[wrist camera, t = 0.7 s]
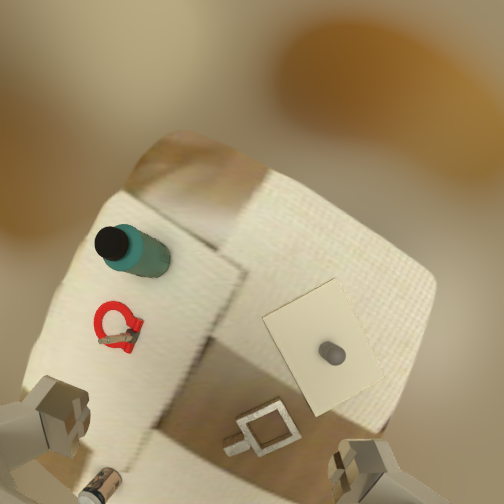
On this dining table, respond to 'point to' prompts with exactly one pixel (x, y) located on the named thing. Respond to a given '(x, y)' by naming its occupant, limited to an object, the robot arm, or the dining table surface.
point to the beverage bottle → (132, 251)
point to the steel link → (248, 438)
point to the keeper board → (311, 334)
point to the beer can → (100, 487)
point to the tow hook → (122, 339)
